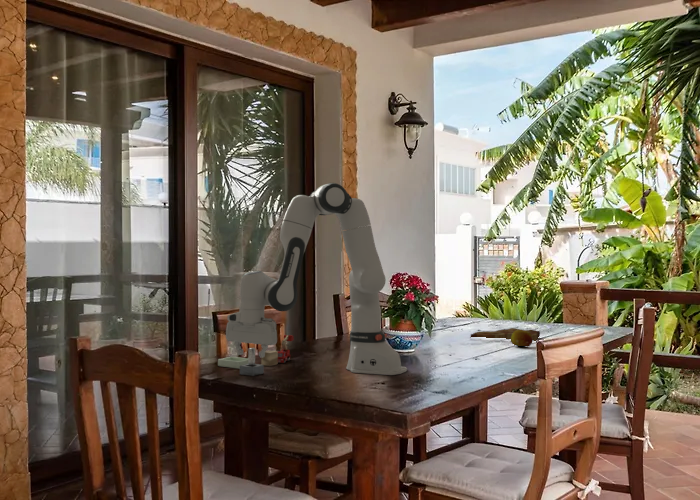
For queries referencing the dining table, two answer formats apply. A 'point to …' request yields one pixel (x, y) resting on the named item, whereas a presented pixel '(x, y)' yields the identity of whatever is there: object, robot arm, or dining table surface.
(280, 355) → the toy fire truck
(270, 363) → the block
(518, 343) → the fruit
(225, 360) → the tray
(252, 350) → the pin
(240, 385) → the dining table surface
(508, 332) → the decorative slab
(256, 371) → the socket block
